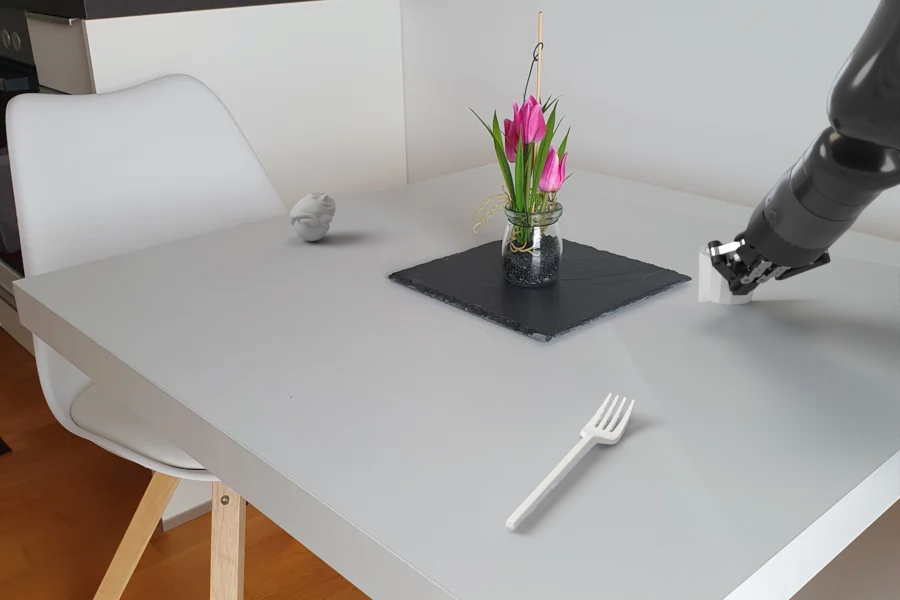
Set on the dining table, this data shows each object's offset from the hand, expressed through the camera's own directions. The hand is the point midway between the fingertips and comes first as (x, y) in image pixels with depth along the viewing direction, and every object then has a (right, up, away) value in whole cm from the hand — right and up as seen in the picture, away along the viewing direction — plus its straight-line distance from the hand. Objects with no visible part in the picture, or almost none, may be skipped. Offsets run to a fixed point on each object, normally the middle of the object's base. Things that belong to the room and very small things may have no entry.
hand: (737, 287), depth 93 cm
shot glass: (0, -3, +4) cm, 5 cm away
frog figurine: (-52, +7, +28) cm, 59 cm away
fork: (-22, -15, -26) cm, 37 cm away
